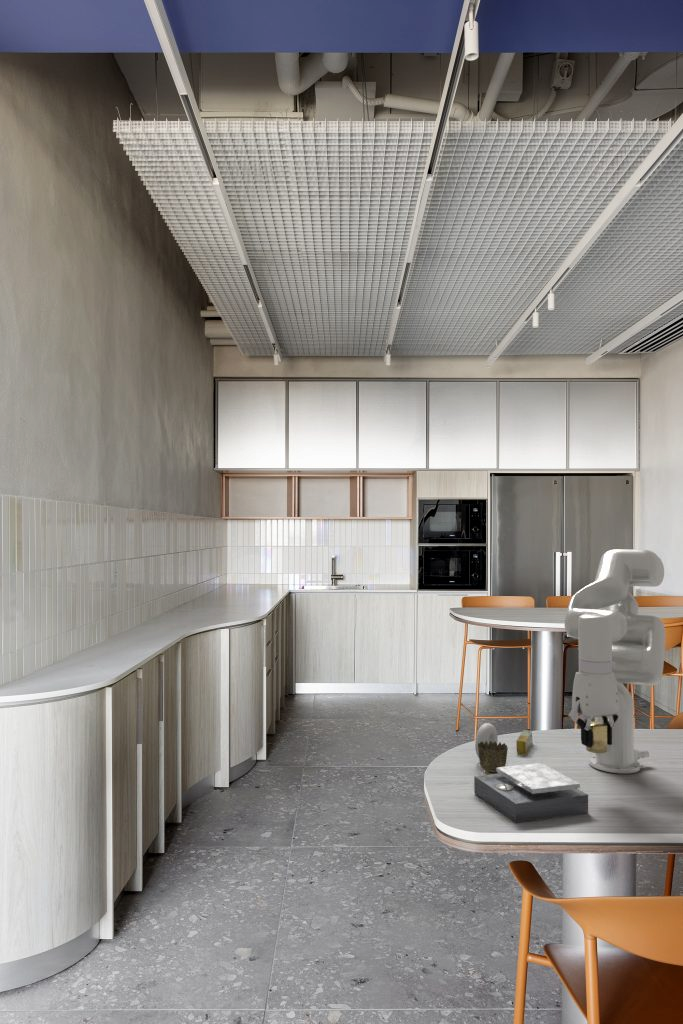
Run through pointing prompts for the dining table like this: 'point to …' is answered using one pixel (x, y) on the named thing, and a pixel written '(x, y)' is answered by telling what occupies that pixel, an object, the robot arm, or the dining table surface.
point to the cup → (492, 756)
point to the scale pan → (537, 778)
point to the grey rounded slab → (485, 735)
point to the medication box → (524, 742)
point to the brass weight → (598, 738)
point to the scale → (528, 800)
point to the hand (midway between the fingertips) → (596, 743)
